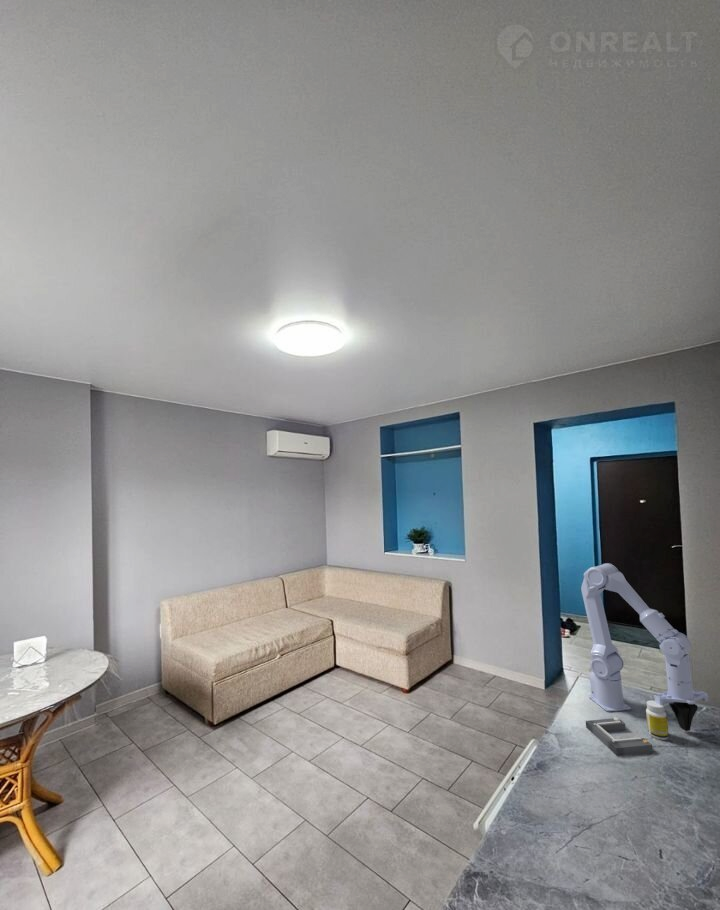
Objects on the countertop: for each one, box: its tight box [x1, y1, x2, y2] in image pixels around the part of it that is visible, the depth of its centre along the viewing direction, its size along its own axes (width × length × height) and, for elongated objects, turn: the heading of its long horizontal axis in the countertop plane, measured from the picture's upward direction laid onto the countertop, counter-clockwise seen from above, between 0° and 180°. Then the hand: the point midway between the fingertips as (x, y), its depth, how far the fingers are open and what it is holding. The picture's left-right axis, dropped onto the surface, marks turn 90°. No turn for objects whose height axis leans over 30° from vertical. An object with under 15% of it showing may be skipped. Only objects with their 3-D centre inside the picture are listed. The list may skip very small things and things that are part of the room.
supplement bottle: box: [645, 700, 670, 741], centre depth 116 cm, size 5×5×8 cm
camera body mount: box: [585, 716, 654, 756], centre depth 114 cm, size 13×10×2 cm
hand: (684, 728), depth 116 cm, fingers closed
